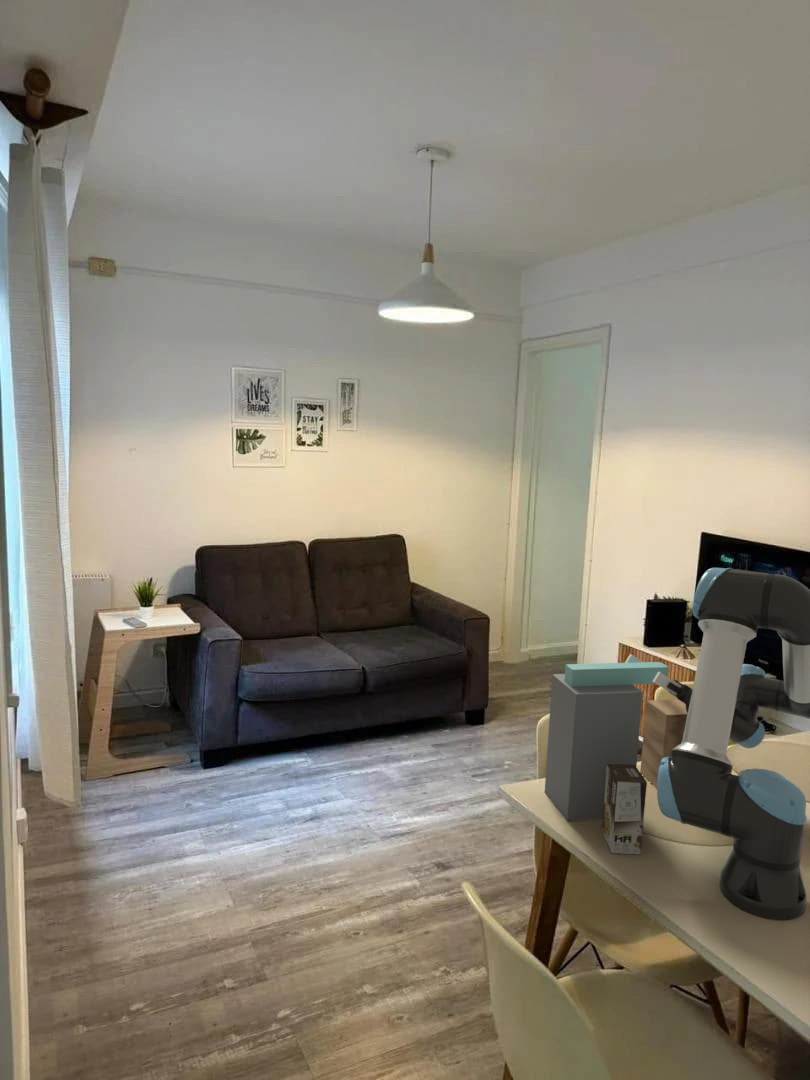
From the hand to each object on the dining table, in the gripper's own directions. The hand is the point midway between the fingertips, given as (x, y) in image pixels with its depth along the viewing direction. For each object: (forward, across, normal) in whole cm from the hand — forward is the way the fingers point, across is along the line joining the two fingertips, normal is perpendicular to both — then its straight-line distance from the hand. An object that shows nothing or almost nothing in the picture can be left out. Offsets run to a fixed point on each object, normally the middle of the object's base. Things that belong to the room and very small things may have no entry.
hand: (641, 667), depth 179 cm
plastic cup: (-37, -15, -17) cm, 44 cm away
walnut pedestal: (-30, +9, -22) cm, 38 cm away
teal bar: (+4, 0, -6) cm, 7 cm away
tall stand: (-7, 0, -34) cm, 35 cm away
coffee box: (-7, -17, -35) cm, 39 cm away
